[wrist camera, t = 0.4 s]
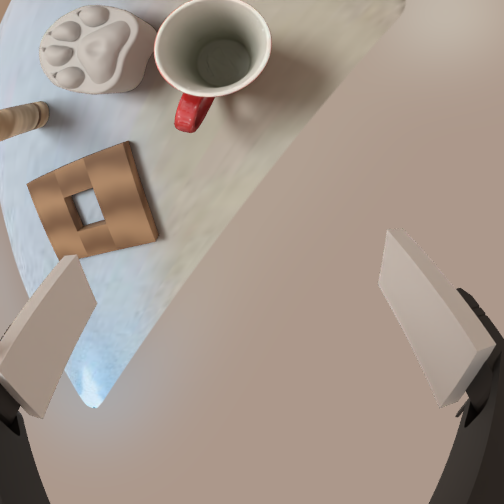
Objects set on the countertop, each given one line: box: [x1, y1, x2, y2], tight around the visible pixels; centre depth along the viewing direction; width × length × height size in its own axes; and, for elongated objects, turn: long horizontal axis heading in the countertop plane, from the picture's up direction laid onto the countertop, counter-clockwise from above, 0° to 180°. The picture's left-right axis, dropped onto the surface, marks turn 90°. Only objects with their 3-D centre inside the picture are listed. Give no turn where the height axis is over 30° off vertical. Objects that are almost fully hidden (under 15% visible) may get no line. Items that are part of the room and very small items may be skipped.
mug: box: [154, 0, 272, 133], centre depth 25 cm, size 13×9×14 cm
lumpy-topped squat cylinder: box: [39, 5, 157, 94], centre depth 24 cm, size 10×13×9 cm
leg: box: [0, 101, 49, 141], centre depth 25 cm, size 4×4×14 cm
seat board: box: [27, 141, 159, 261], centre depth 37 cm, size 14×18×2 cm
